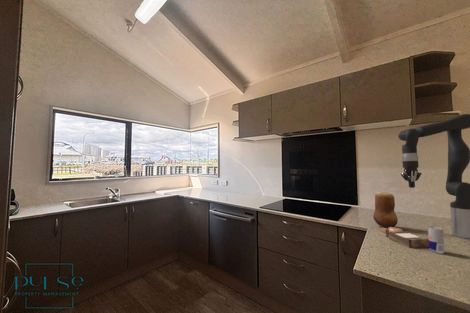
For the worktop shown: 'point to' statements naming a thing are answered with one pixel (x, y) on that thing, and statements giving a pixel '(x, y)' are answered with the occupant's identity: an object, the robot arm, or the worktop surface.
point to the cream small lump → (395, 229)
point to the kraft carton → (408, 236)
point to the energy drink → (436, 240)
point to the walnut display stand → (408, 240)
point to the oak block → (384, 231)
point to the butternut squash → (385, 210)
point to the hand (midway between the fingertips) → (411, 187)
